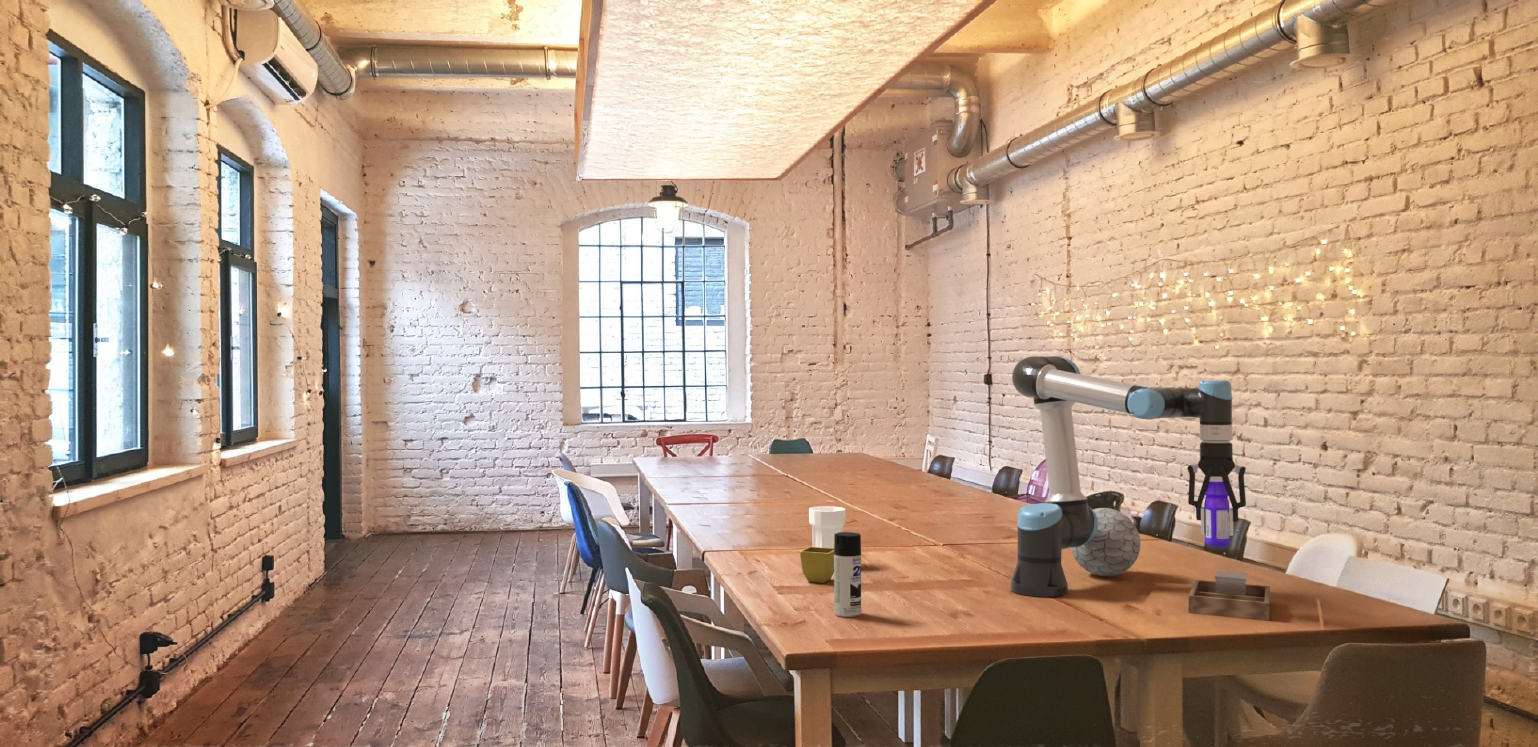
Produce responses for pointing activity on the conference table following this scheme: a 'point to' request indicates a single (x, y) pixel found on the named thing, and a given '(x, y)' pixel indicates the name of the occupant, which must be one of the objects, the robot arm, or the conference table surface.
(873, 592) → the conference table surface
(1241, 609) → the crate
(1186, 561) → the conference table surface
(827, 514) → the cup
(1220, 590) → the block
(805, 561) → the flower pot
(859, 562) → the spray can
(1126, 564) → the decorative sphere
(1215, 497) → the bottle
